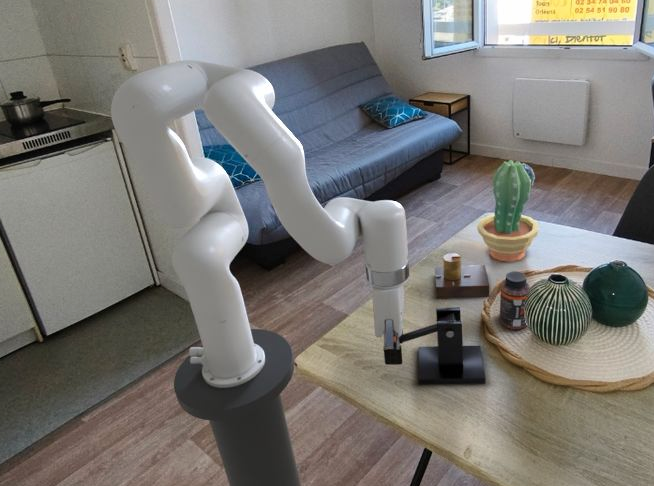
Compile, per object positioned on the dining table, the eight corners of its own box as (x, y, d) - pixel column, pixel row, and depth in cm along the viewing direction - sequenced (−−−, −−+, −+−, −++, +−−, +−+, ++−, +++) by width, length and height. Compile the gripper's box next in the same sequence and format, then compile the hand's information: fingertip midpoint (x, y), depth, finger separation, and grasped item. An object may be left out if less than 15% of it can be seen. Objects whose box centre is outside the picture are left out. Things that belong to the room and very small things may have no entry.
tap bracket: (418, 384, 92) (415, 332, 87) (419, 351, 100) (415, 302, 95) (485, 383, 90) (485, 330, 86) (480, 350, 99) (479, 300, 94)
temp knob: (444, 280, 116) (443, 261, 114) (443, 271, 120) (442, 252, 118) (461, 280, 116) (461, 260, 114) (460, 271, 120) (459, 251, 118)
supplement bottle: (524, 334, 102) (526, 287, 97) (496, 326, 105) (496, 280, 100) (532, 317, 106) (534, 271, 102) (504, 310, 109) (505, 266, 104)
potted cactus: (544, 266, 124) (550, 171, 113) (481, 269, 125) (480, 175, 115) (530, 237, 138) (534, 150, 127) (473, 240, 139) (472, 154, 129)
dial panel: (436, 298, 116) (435, 286, 114) (434, 277, 124) (434, 266, 123) (489, 296, 114) (489, 284, 113) (484, 275, 123) (484, 264, 121)
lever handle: (391, 356, 92) (385, 346, 91) (392, 338, 97) (387, 329, 96) (459, 335, 89) (454, 325, 88) (457, 318, 93) (453, 308, 93)
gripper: (370, 247, 95) (378, 324, 103) (360, 299, 80) (370, 386, 87) (409, 245, 95) (414, 324, 102) (408, 298, 79) (414, 386, 87)
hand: (394, 352), depth 95 cm, fingers closed on lever handle, 5 cm apart
